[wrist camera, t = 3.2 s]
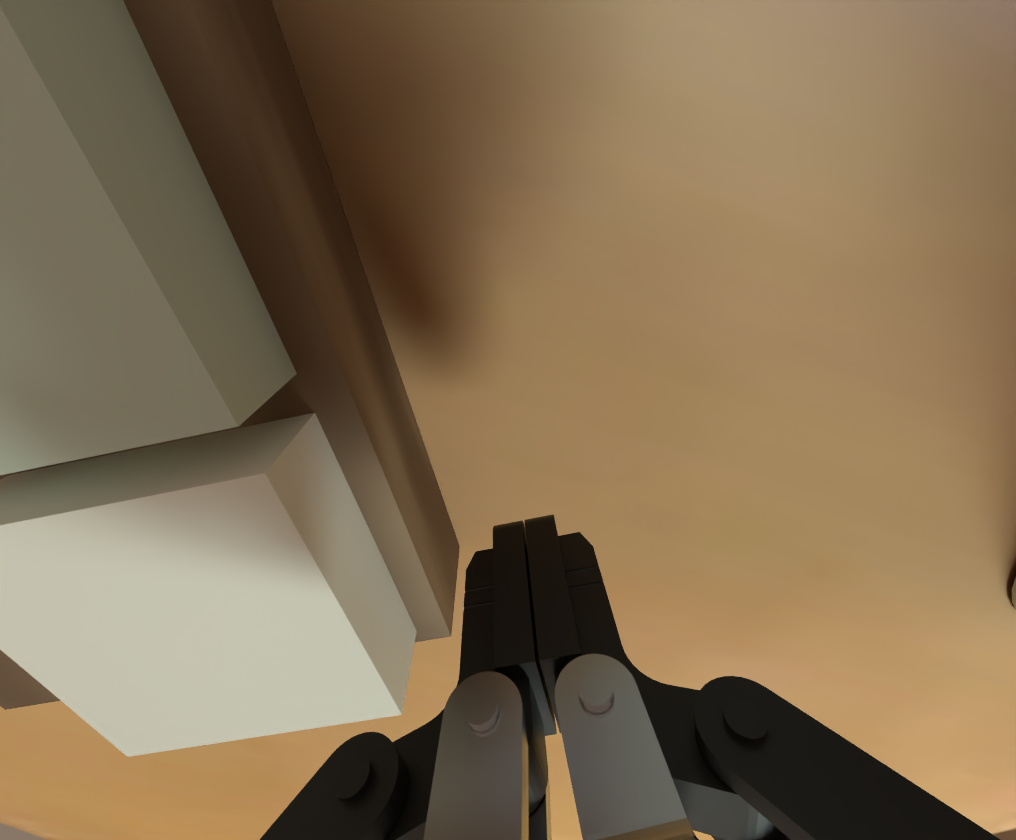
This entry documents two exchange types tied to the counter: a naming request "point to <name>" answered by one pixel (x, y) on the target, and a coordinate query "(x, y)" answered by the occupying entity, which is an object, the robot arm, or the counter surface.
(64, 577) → the cream tile
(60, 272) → the sage tile
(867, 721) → the counter surface
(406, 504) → the walnut board
